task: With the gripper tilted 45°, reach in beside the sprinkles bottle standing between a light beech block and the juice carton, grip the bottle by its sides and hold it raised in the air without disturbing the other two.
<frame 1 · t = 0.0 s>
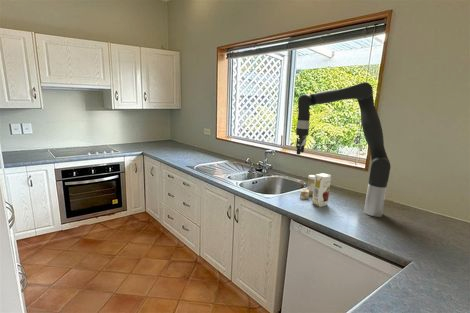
hand: (300, 153, 166), 29 cm above the worktop, tool pointing down, fingers open, 8 cm apart
juice carton: (319, 204, 162), on the worktop
sprinkles bottle: (309, 195, 178), on the worktop
beech block: (304, 197, 172), on the worktop
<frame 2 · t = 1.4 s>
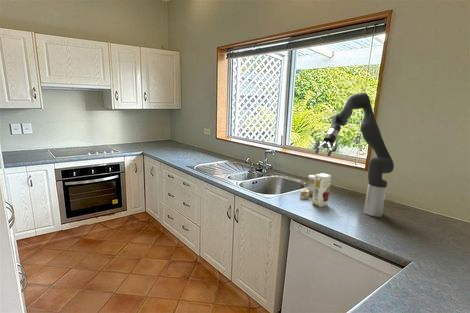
hand: (322, 154, 180), 26 cm above the worktop, tool tilted 45°, fingers open, 8 cm apart
nothing on the worktop moved.
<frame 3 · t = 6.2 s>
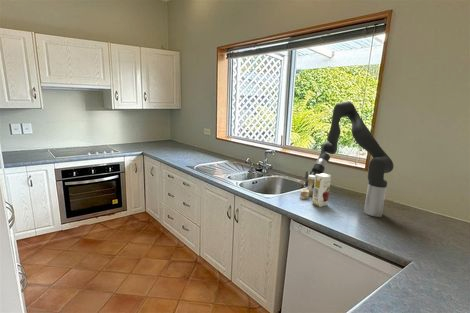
hand: (309, 186, 175), 6 cm above the worktop, tool tilted 45°, fingers closed on sprinkles bottle, 4 cm apart
sprinkles bottle: (309, 194, 178), on the worktop, touching gripper
everything else where it was.
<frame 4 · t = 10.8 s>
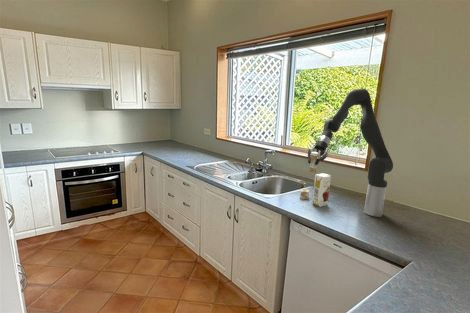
hand: (312, 163, 172), 22 cm above the worktop, tool tilted 45°, fingers closed on sprinkles bottle, 4 cm apart
sprinkles bottle: (312, 172, 175), point 16 cm above the worktop, touching gripper
everything else where it was.
at the end: the gripper is holding sprinkles bottle; sprinkles bottle point 15.6 cm above the worktop; beech block moved 0.1 cm from its start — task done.
